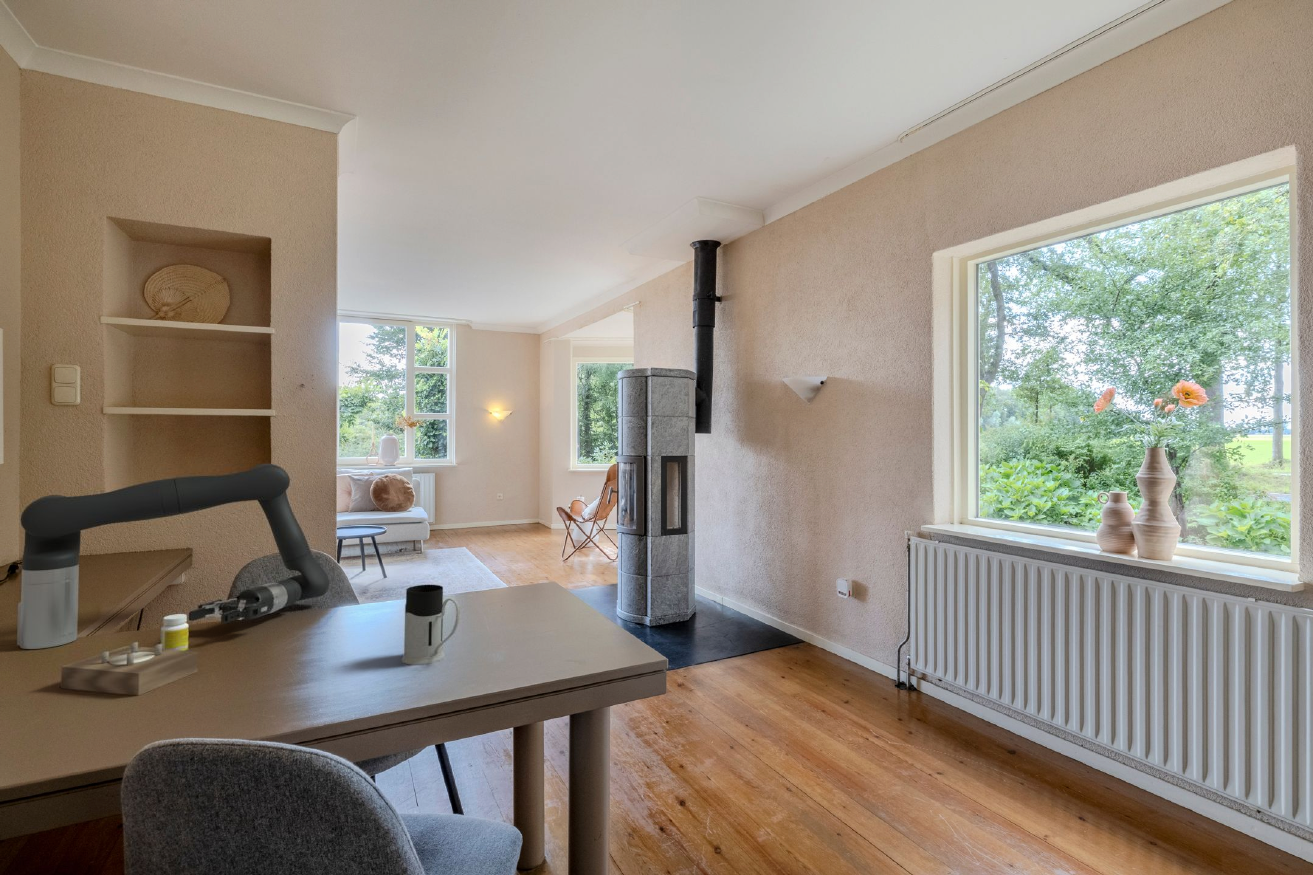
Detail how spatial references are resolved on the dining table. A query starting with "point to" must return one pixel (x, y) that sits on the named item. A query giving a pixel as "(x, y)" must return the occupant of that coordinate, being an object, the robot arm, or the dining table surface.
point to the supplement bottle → (175, 632)
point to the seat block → (129, 670)
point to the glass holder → (425, 624)
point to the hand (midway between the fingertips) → (206, 617)
